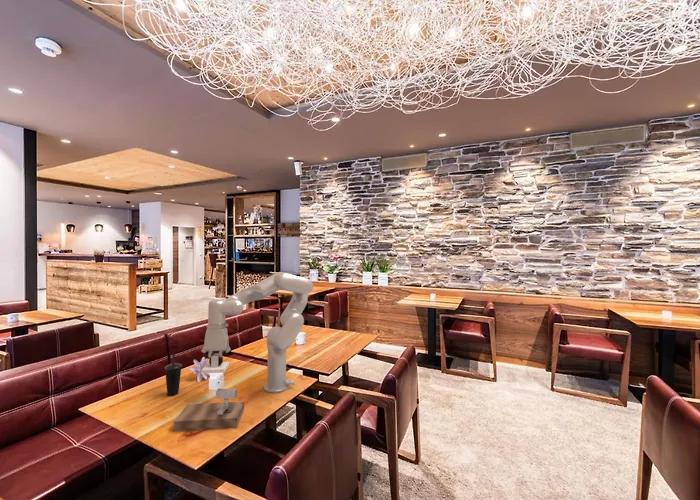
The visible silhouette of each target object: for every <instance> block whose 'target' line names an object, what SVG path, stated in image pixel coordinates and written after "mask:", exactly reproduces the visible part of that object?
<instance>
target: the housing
mask: <svg viewBox="0 0 700 500" xmlns="http://www.w3.org/2000/svg"><path fill="white" fill-rule="evenodd" d="M223 404H224V401H223V402H205V403H203V402H202V403H187V404H186V406H185V407H184V408H182V409H183V410H182V411H181V412H180V413H179V414H178V416H177V417H176V418H175V419H174V421H173V432H175V433H176V432H187V431H188V432H190V431H193V432H194V431H208V430H225V429H226V430H227V429H238V426H239V424H240V423H241V422H240V421H241V420H242V417H243V414H244V412H245V401H229V408H228V409H227V410H225V412H224V413H223V414H217V412H218V411H219V409H220V408H221V407H222V405H223Z"/></svg>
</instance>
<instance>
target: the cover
mask: <svg viewBox="0 0 700 500" xmlns="http://www.w3.org/2000/svg"><path fill="white" fill-rule="evenodd" d="M219 356H220V355H219V352H218V353H214V352H213V356H212V357H211V366H210V364H209V361H208V362H207V364H206V365H205V366H204V367H203V369H202V370H201V373H214V374H220V373H221V374H222V373H223V374H224V373H225V372H226V371H227V369H228V368H229V366H230V361H223V363H222V364H221V365H220V366H218V358H219Z"/></svg>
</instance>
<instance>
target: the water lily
mask: <svg viewBox="0 0 700 500" xmlns="http://www.w3.org/2000/svg"><path fill="white" fill-rule="evenodd" d="M208 362H209V357H208V358H206V357H205V356H203V357H202V358H201V359H200V362H199V361H198V360H197V359H193V363H194V365H195V366H190V367H188V370H189V371H192V372H193V374H197V376H196V377H197V378H196V379H197V380H196V381H197V382H198V383H200V382H201V381H202V379H203V378H204V379H205V380H207V379H208V376H210V375H209V374H210V373H201V370H202V369H203V367H204V366H205V365H206V364H207V363H208Z"/></svg>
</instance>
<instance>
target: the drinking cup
mask: <svg viewBox="0 0 700 500" xmlns="http://www.w3.org/2000/svg"><path fill="white" fill-rule="evenodd" d="M182 368H183V364H182V363H179V362H177V363H176V362H175V353H172V363H170V364H168V365H166V366H164V371H165V373H164V374H165V381H166V382H165V384H166V385H165V386H166V394H167V396H168V397H173V396H176V395H178V394H179V392H180V383H181V374H182Z"/></svg>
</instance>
